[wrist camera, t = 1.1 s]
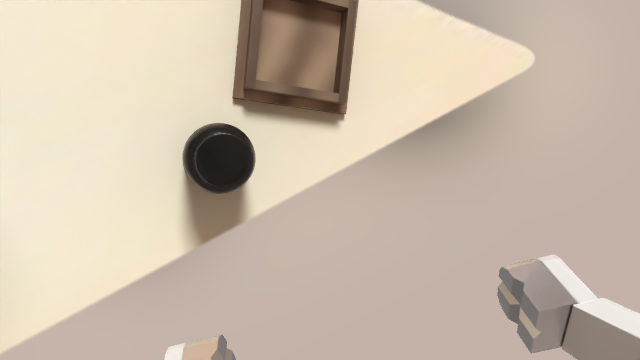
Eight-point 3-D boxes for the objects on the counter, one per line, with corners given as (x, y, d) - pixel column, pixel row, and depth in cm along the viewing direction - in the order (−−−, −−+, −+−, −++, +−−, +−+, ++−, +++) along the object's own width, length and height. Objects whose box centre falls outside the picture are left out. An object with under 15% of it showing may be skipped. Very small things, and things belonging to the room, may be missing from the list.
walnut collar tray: (232, 97, 45) (235, 95, 42) (244, -27, 44) (247, -38, 41) (343, 114, 49) (352, 112, 47) (355, 2, 48) (365, -6, 46)
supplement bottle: (254, 144, 46) (277, 147, 35) (226, 195, 45) (240, 213, 34) (201, 114, 44) (207, 106, 32) (171, 167, 43) (166, 177, 32)
